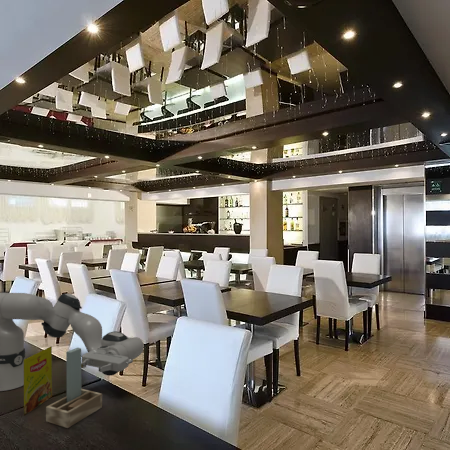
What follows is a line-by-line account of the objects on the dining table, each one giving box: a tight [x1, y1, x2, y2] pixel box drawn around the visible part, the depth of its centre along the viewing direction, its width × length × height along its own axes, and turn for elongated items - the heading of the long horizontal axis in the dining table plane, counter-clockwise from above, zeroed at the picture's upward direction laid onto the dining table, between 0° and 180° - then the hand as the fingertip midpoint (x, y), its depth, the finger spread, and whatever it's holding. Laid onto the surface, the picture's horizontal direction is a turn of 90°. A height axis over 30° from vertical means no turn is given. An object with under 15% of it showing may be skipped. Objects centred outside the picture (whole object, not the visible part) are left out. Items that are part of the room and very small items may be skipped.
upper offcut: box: [68, 399, 87, 411], centre depth 134 cm, size 3×6×2 cm, turn 161°
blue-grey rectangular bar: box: [65, 347, 82, 402], centre depth 139 cm, size 2×5×22 cm, turn 155°
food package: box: [23, 346, 53, 416], centre depth 143 cm, size 15×1×20 cm, turn 168°
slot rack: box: [45, 388, 103, 429], centre depth 136 cm, size 10×16×5 cm, turn 155°
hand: (90, 368), depth 146 cm, fingers open, 8 cm apart
